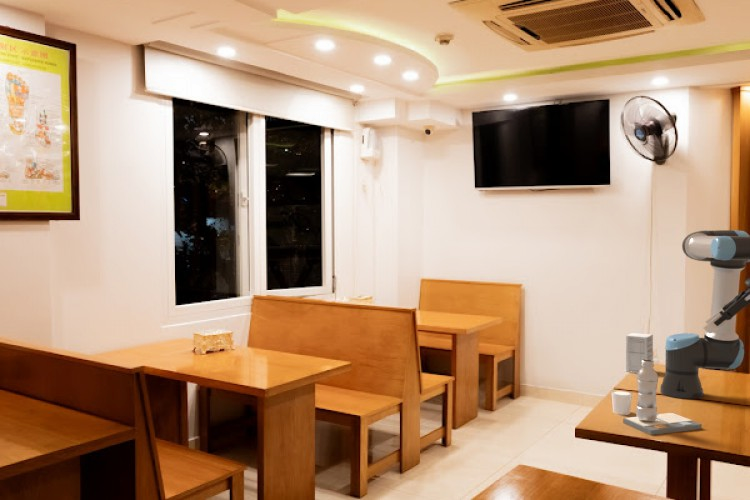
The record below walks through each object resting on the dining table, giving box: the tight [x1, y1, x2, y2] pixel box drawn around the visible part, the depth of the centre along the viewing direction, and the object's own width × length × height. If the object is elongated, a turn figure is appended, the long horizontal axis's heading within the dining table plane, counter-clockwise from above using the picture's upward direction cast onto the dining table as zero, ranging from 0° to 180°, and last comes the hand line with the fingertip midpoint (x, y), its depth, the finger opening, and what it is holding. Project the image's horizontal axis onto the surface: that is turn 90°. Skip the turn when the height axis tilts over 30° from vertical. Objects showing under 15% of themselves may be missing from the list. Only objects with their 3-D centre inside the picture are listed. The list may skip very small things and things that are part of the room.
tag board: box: [622, 412, 703, 436], centre depth 209 cm, size 20×13×2 cm, turn 107°
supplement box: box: [625, 332, 654, 374], centre depth 286 cm, size 10×9×17 cm
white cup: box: [611, 390, 633, 416], centre depth 224 cm, size 7×7×7 cm
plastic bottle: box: [635, 359, 659, 421], centre depth 208 cm, size 6×7×20 cm
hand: (707, 328), depth 200 cm, fingers open, 13 cm apart
